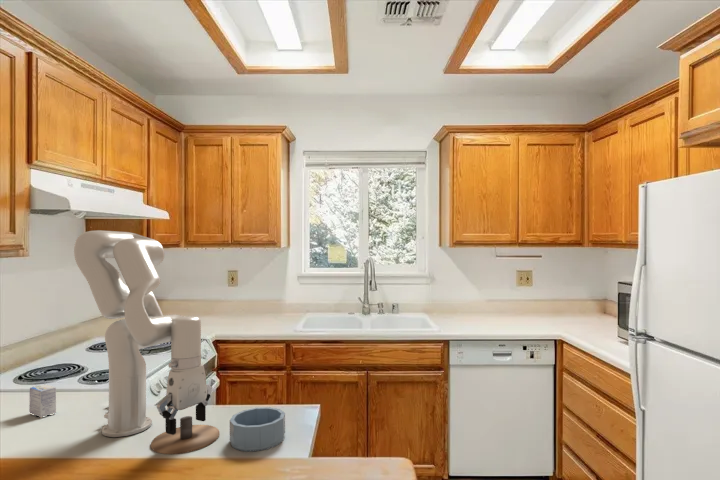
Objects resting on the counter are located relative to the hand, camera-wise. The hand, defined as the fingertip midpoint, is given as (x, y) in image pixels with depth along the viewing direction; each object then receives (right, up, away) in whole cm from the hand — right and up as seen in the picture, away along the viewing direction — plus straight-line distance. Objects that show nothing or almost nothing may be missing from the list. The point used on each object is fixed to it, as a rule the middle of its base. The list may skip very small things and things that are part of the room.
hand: (186, 426), depth 112 cm
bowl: (+20, -3, -1) cm, 20 cm away
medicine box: (-55, -6, +21) cm, 59 cm away
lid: (0, -4, 0) cm, 4 cm away
